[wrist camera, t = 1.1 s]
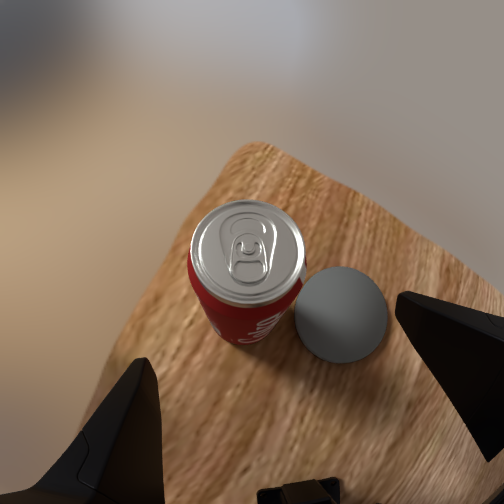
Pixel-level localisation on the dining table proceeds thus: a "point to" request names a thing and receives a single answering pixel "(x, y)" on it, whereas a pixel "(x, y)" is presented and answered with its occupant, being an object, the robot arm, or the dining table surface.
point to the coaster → (340, 315)
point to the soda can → (246, 268)
